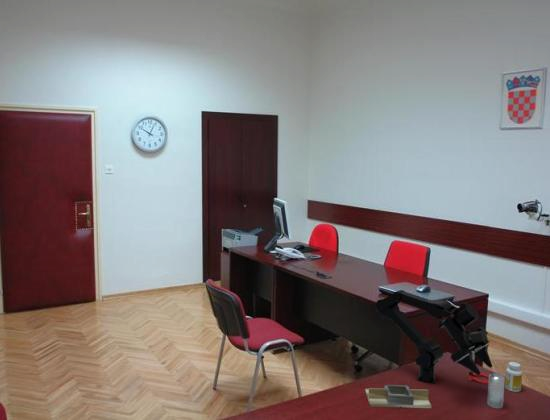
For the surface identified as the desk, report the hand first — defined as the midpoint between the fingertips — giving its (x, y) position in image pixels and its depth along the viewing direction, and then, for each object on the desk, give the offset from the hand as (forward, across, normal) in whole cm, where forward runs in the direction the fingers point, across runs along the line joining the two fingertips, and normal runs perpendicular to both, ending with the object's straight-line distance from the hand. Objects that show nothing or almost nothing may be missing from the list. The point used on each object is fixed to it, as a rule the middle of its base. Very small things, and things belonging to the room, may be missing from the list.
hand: (485, 370), depth 172 cm
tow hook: (+2, +16, +14) cm, 21 cm away
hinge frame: (-7, -24, +22) cm, 33 cm away
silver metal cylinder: (+11, 0, +5) cm, 12 cm away
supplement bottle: (+10, +17, +6) cm, 21 cm away
